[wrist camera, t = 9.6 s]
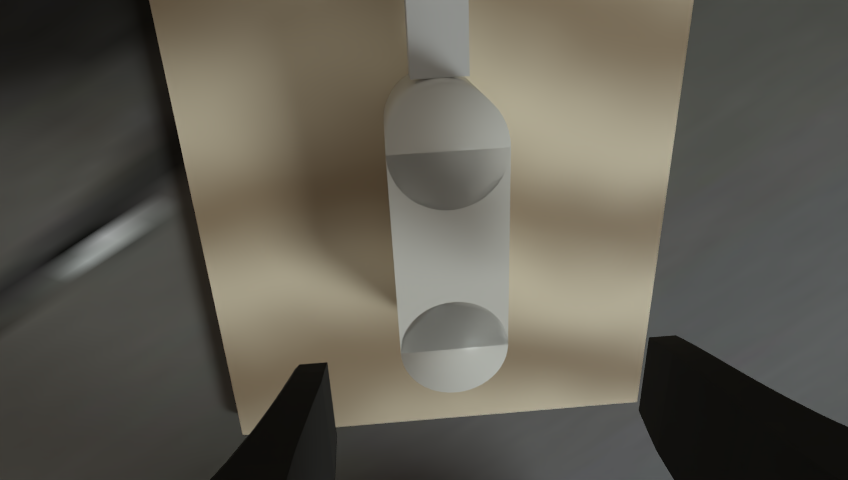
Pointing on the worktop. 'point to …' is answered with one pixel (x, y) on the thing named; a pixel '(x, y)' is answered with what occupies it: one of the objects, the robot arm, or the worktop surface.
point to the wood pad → (369, 200)
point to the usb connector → (447, 206)
